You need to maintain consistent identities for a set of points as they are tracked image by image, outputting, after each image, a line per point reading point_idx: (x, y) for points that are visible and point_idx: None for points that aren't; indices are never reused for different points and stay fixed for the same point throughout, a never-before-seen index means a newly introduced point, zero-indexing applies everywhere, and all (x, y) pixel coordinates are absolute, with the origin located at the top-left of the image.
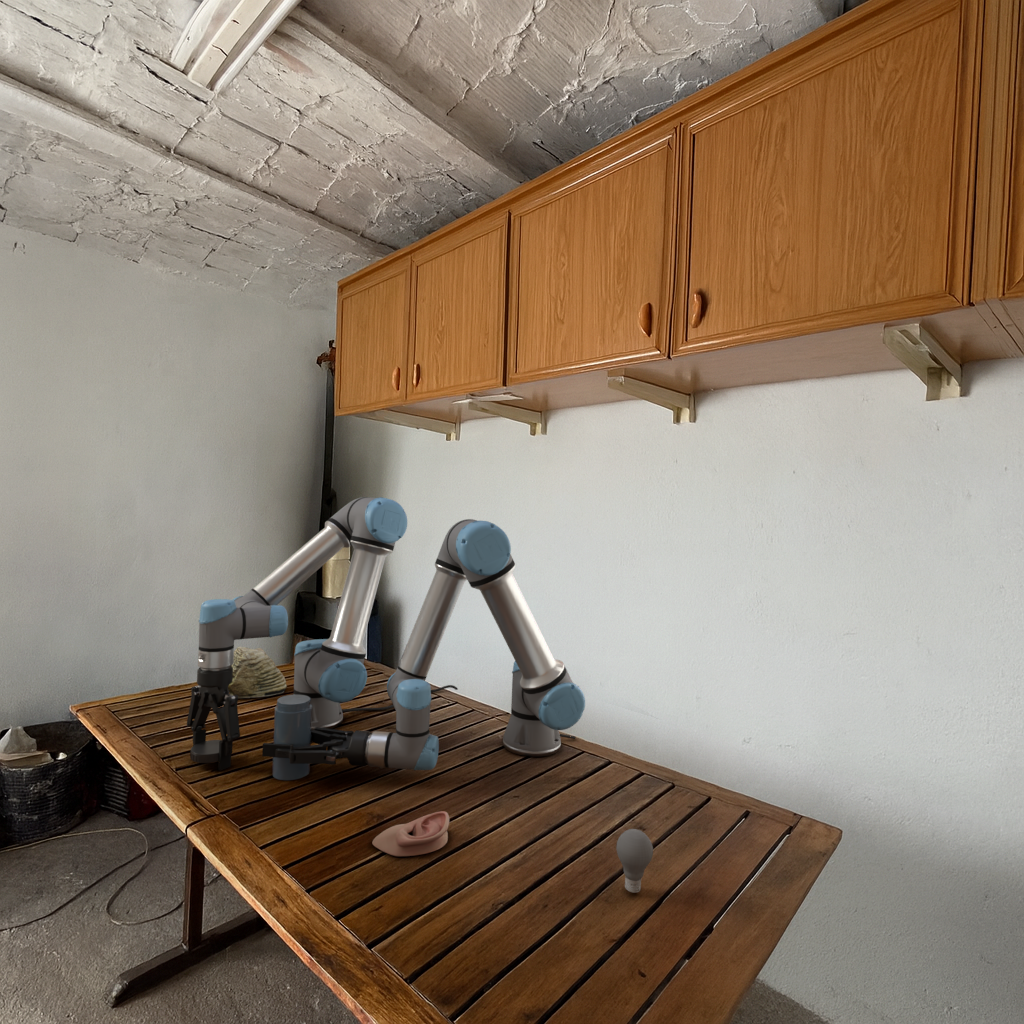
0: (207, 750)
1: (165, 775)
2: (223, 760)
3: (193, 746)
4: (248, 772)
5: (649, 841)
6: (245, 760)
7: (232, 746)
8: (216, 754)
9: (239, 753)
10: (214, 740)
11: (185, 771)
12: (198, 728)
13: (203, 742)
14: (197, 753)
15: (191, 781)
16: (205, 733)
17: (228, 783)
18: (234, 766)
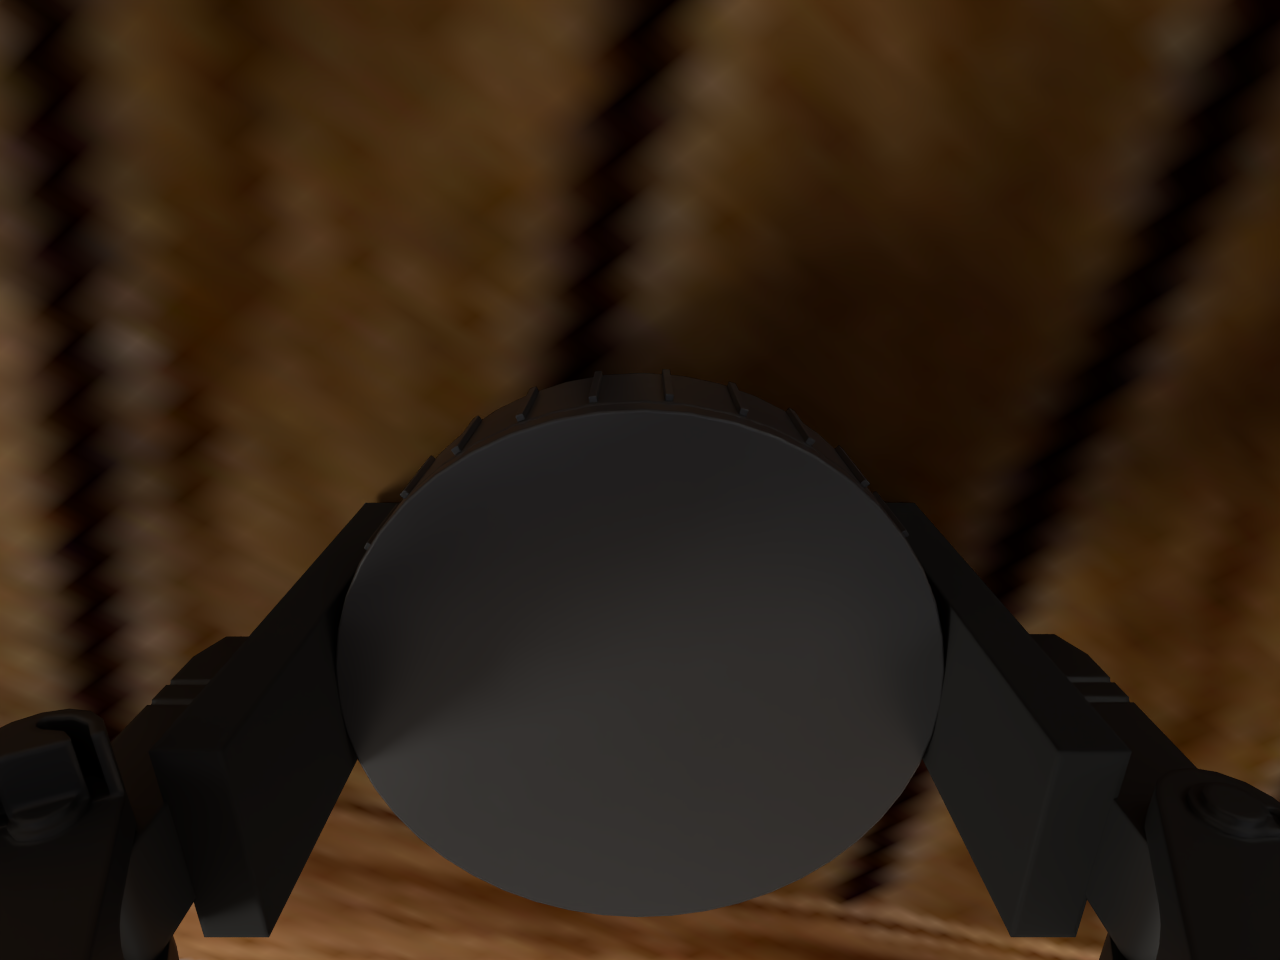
0: (709, 800)
1: (532, 914)
2: None
3: (418, 823)
4: (1224, 481)
5: None
6: (927, 263)
7: (1142, 712)
8: (901, 778)
9: (652, 141)
10: (420, 527)
11: None
12: (149, 905)
13: (372, 672)
14: (689, 910)
15: (838, 873)
16: (266, 710)
17: (1195, 742)
18: (942, 466)
